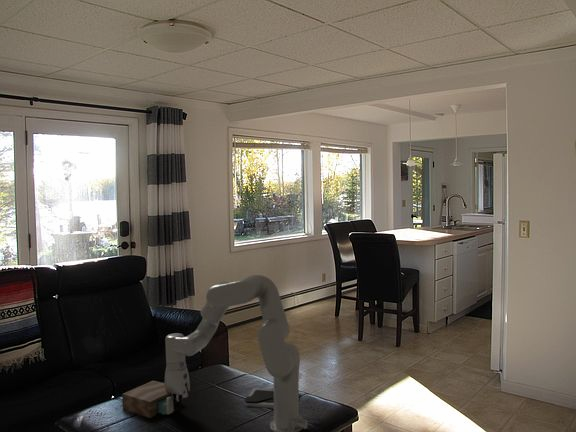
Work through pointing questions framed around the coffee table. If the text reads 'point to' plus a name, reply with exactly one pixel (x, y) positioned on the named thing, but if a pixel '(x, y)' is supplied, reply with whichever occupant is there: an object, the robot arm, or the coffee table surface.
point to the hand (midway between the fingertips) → (177, 409)
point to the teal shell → (165, 405)
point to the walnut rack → (144, 398)
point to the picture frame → (260, 398)
